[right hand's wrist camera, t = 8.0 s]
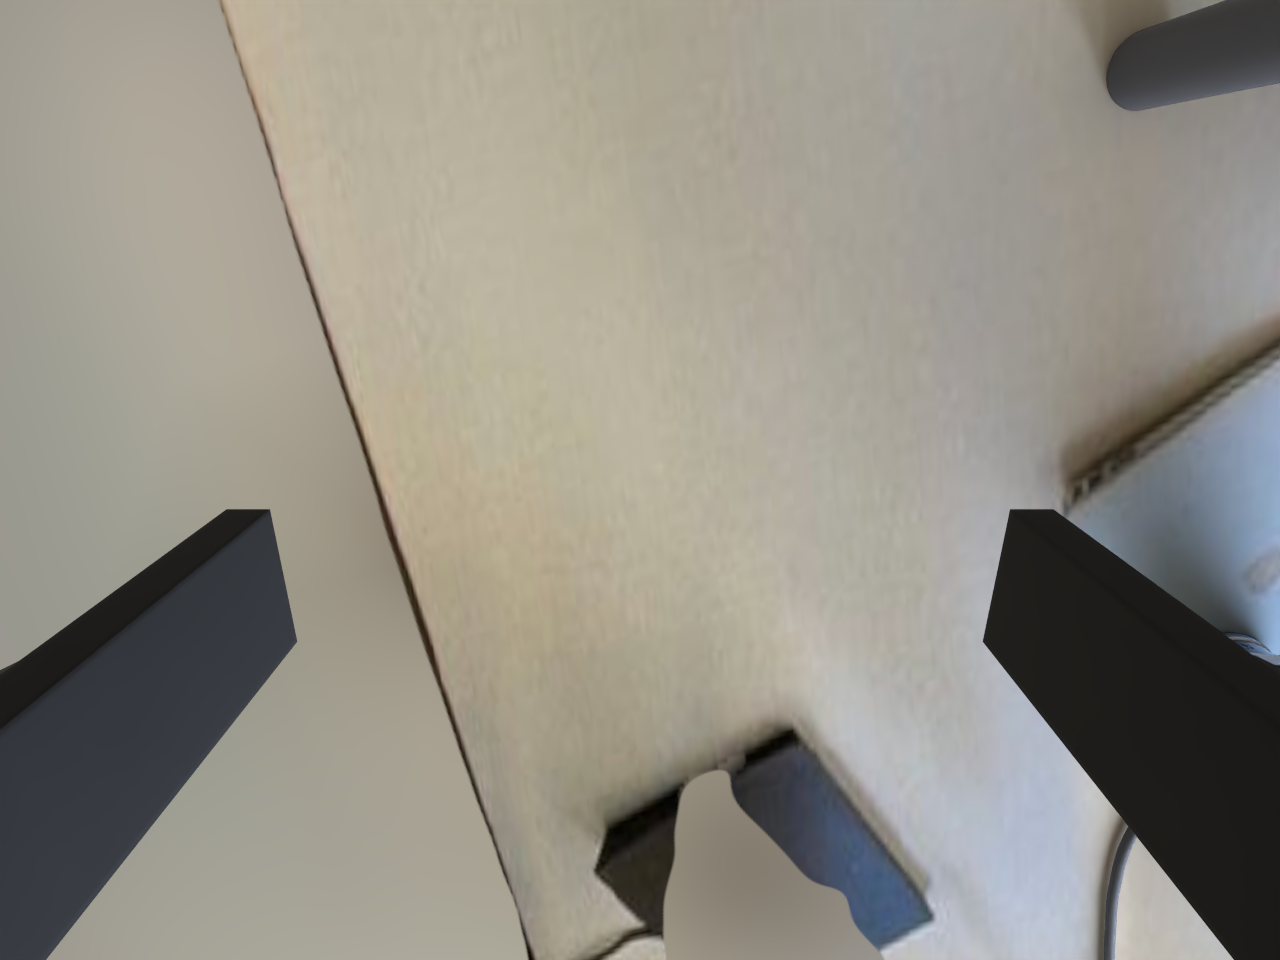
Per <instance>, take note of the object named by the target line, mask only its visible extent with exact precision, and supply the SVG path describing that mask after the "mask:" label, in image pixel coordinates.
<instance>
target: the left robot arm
mask: <svg viewBox="0 0 1280 960" xmlns="http://www.w3.org/2000/svg"><path fill="white" fill-rule="evenodd" d="M1223 634H1225V635H1226V636H1227V637H1229V638H1230V639H1231V640H1233V641H1234V642H1236V643H1237V644H1238V645H1240V646H1241V647H1242V648H1244V649H1245V650H1246V651H1248V652H1249V653H1251V654H1252V655H1256V656H1258V657H1260V658H1262V659H1264V660H1266V661H1268V662H1270V663H1272V664H1274V665H1276V666H1278V667H1280V655H1274V654H1272V653H1271V652H1270V650H1269V649H1267V648H1266V647H1265V646H1263V645H1262V644H1261V643H1259V642H1258V641H1256V640H1255V639H1253V638H1251V637H1249V636H1246V635H1242V634H1236V633H1223ZM1136 838H1137V836H1136V835H1135V834H1134V832H1133V831H1132V830H1131V829H1130V827H1129V826H1128V828H1127V830H1126V832H1125V834H1124V836H1123V838H1122V840H1121V842H1120V844H1119V847H1118V849H1117V852H1116V855H1115V859H1114V863H1113V867H1112V872H1111V877H1110V881H1109V886H1108V892H1107V900H1106V915H1105V935H1104V960H1115V936H1116V918H1117V905H1118V898H1119V892H1120V887H1121V883H1122V878H1123V873H1124V869H1125V865H1126V862H1127V859H1128V856H1129V853H1130V851H1131V848H1132V846H1133V844H1134V842H1135V840H1136Z"/></svg>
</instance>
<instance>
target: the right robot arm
mask: <svg viewBox="0 0 1280 960" xmlns="http://www.w3.org/2000/svg"><path fill="white" fill-rule="evenodd" d="M296 642H297V639H296V634H295V629H294V624H293V619H292V614H291V610H290V605H289V600H288V595H287V590H286V586H285V581H284V576H283V571H282V566H281V561H280V556H279V552H278V547H277V542H276V537H275V532H274V527H273V523H272V518H271V513H270V510H269V509H227V510H225V511H224V512H222V513H221V514H220V515H218V516H217V517H216V518H214V519H213V520H212V521H210V522H209V523H207V524H206V525H205V526H203V527H202V528H201V529H199V530H198V531H196V532H195V533H194V534H192V535H191V536H190V537H188V538H187V539H185V540H184V541H183V542H181V543H180V544H179V545H177V546H176V547H175V548H173V549H172V550H171V551H169V552H168V553H166V554H165V555H164V556H162V557H161V558H159V559H158V560H157V561H155V562H154V563H153V564H151V565H150V566H149V567H147V568H146V569H144V570H143V571H142V572H140V573H139V574H138V575H136V576H135V577H134V578H132V579H131V580H129V581H128V582H127V583H125V584H124V585H123V586H121V587H120V588H118V589H117V590H116V591H114V592H113V593H112V594H110V595H109V596H107V597H106V598H105V599H103V600H102V601H101V602H99V603H98V604H97V605H95V606H94V607H93V608H91V609H90V610H88V611H87V612H86V613H84V614H83V615H81V616H80V617H79V618H77V619H76V620H75V621H73V622H72V623H71V624H69V625H68V626H66V627H65V628H64V629H62V630H61V631H60V632H58V633H57V634H55V635H54V636H53V637H51V638H50V639H49V640H47V641H46V642H44V643H43V644H42V645H40V646H39V647H38V648H36V649H35V650H34V651H32V652H31V653H29V654H28V655H27V656H25V657H24V658H23V659H21V660H20V661H18V662H16V663H14V664H12V665H10V666H8V667H6V668H4V669H2V670H0V960H46V959H47V958H48V956H49V955H50V954H51V953H52V951H53V950H54V949H55V948H56V946H57V945H58V944H59V942H60V941H61V940H62V939H63V937H64V936H65V935H66V934H67V932H68V931H69V930H70V929H71V927H72V926H73V925H74V923H75V922H76V921H77V920H78V918H79V917H80V916H81V915H82V913H83V912H84V911H85V910H86V908H87V907H88V906H89V904H90V903H91V902H92V901H93V899H94V898H95V897H96V896H97V894H98V893H99V892H100V891H101V889H102V888H103V887H104V885H105V884H106V883H107V882H108V880H109V879H110V878H111V877H112V875H113V874H114V873H115V872H116V870H117V869H118V868H119V867H120V865H121V864H122V863H123V861H124V860H125V859H126V858H127V856H128V855H129V854H130V853H131V851H132V850H133V849H134V848H135V846H136V845H137V844H138V842H139V841H140V840H141V839H142V837H143V836H144V835H145V834H146V832H147V831H148V830H149V828H150V827H151V826H152V825H153V824H154V822H155V821H156V820H157V818H158V817H159V816H160V815H161V813H162V812H163V811H164V810H165V808H166V807H167V806H168V805H169V803H170V802H171V801H172V799H173V798H174V797H175V796H176V794H177V793H178V792H179V791H180V789H181V788H182V787H183V786H184V784H185V783H186V782H187V780H188V779H189V778H190V777H191V775H192V774H193V773H194V772H195V770H196V769H197V768H198V767H199V765H200V764H201V763H202V761H203V760H204V759H205V758H206V756H207V755H208V754H209V753H210V751H211V750H212V749H213V748H214V746H215V745H216V744H217V742H218V741H219V740H220V739H221V737H222V736H223V735H224V734H225V732H226V731H227V730H228V728H229V727H230V726H231V725H232V723H233V722H234V721H235V720H236V718H237V717H238V716H239V715H240V713H241V712H242V711H243V709H244V708H245V707H246V706H247V704H248V703H249V702H250V701H251V699H252V698H253V697H254V696H255V694H256V693H257V692H258V691H259V689H260V688H261V687H262V685H263V684H264V683H265V682H266V680H267V679H268V678H269V677H270V675H271V674H272V673H273V671H274V670H275V669H276V668H277V666H278V665H279V664H280V663H281V661H282V660H283V659H284V658H285V656H286V655H287V654H288V653H289V651H290V650H291V649H292V647H293V646H294V645H295V644H296ZM983 642H984V644H985V645H986V646H987V647H988V649H989V650H990V651H991V653H992V654H993V655H994V656H995V658H996V659H997V660H998V661H999V663H1000V664H1001V665H1002V666H1003V668H1004V669H1005V670H1006V672H1007V673H1008V674H1009V675H1010V677H1011V678H1012V679H1013V680H1014V682H1015V683H1016V684H1017V685H1018V687H1019V688H1020V689H1021V691H1022V692H1023V693H1024V694H1025V696H1026V697H1027V698H1028V699H1029V701H1030V702H1031V703H1032V704H1033V706H1034V707H1035V708H1036V710H1037V711H1038V712H1039V713H1040V715H1041V716H1042V717H1043V718H1044V720H1045V721H1046V722H1047V723H1048V725H1049V726H1050V727H1051V729H1052V730H1053V731H1054V732H1055V734H1056V735H1057V736H1058V737H1059V739H1060V740H1061V741H1062V742H1063V744H1064V745H1065V746H1066V748H1067V749H1068V750H1069V751H1070V753H1071V754H1072V755H1073V756H1074V758H1075V759H1076V760H1077V761H1078V763H1079V764H1080V765H1081V767H1082V768H1083V769H1084V770H1085V772H1086V773H1087V774H1088V775H1089V777H1090V778H1091V779H1092V780H1093V782H1094V783H1095V784H1096V786H1097V787H1098V788H1099V789H1100V791H1101V792H1102V793H1103V794H1104V796H1105V797H1106V798H1107V799H1108V801H1109V802H1110V803H1111V805H1112V806H1113V807H1114V808H1115V810H1116V811H1117V812H1118V813H1119V815H1120V816H1121V817H1122V818H1123V820H1124V821H1125V822H1126V824H1127V825H1128V826H1129V827H1130V829H1131V830H1132V831H1133V832H1134V834H1135V835H1136V836H1137V837H1138V839H1139V840H1140V841H1141V843H1142V844H1143V845H1144V846H1145V848H1146V849H1147V850H1148V851H1149V853H1150V854H1151V855H1152V856H1153V858H1154V859H1155V860H1156V861H1157V863H1158V864H1159V865H1160V867H1161V868H1162V869H1163V870H1164V872H1165V873H1166V874H1167V875H1168V877H1169V878H1170V879H1171V880H1172V882H1173V883H1174V884H1175V886H1176V887H1177V888H1178V889H1179V891H1180V892H1181V893H1182V894H1183V896H1184V897H1185V898H1186V899H1187V901H1188V902H1189V903H1190V905H1191V906H1192V907H1193V908H1194V910H1195V911H1196V912H1197V913H1198V915H1199V916H1200V917H1201V918H1202V920H1203V921H1204V922H1205V924H1206V925H1207V926H1208V927H1209V929H1210V930H1211V931H1212V932H1213V934H1214V935H1215V936H1216V937H1217V939H1218V940H1219V941H1220V943H1221V944H1222V945H1223V946H1224V948H1225V949H1226V950H1227V951H1228V953H1229V954H1230V955H1231V956H1232V958H1233V959H1234V960H1280V667H1278V666H1276V665H1274V664H1272V663H1270V662H1268V661H1266V660H1264V659H1262V658H1260V657H1258V656H1256V655H1252V654H1251V653H1249V652H1248V651H1246V650H1245V649H1244V648H1242V647H1241V646H1240V645H1238V644H1237V643H1236V642H1234V641H1233V640H1231V639H1230V638H1229V637H1227V636H1226V635H1225V634H1223V633H1222V632H1220V631H1219V630H1218V629H1216V628H1215V627H1214V626H1212V625H1211V624H1210V623H1208V622H1207V621H1205V620H1204V619H1203V618H1201V617H1200V616H1199V615H1197V614H1196V613H1194V612H1193V611H1192V610H1190V609H1189V608H1188V607H1186V606H1185V605H1183V604H1182V603H1181V602H1179V601H1178V600H1177V599H1175V598H1174V597H1173V596H1171V595H1170V594H1168V593H1167V592H1166V591H1164V590H1163V589H1162V588H1160V587H1159V586H1157V585H1156V584H1155V583H1153V582H1152V581H1151V580H1149V579H1148V578H1147V577H1145V576H1144V575H1142V574H1141V573H1140V572H1138V571H1137V570H1136V569H1134V568H1133V567H1131V566H1130V565H1129V564H1127V563H1126V562H1125V561H1123V560H1122V559H1121V558H1119V557H1118V556H1116V555H1115V554H1114V553H1112V552H1111V551H1110V550H1108V549H1107V548H1105V547H1104V546H1103V545H1101V544H1100V543H1099V542H1097V541H1096V540H1095V539H1093V538H1092V537H1090V536H1089V535H1088V534H1086V533H1085V532H1084V531H1082V530H1081V529H1079V528H1078V527H1077V526H1075V525H1074V524H1073V523H1071V522H1070V521H1069V520H1067V519H1066V518H1064V517H1063V516H1062V515H1060V514H1059V513H1058V512H1056V511H1055V510H1053V509H1010V513H1009V518H1008V523H1007V527H1006V532H1005V537H1004V542H1003V547H1002V552H1001V556H1000V561H999V566H998V571H997V576H996V581H995V585H994V590H993V595H992V600H991V605H990V610H989V614H988V619H987V624H986V629H985V634H984V639H983Z"/></svg>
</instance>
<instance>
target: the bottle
mask: <svg viewBox="0 0 1280 960" xmlns="http://www.w3.org/2000/svg"><path fill="white" fill-rule="evenodd" d="M1277 83H1280V0H1225V1H1223V2H1220V3H1217V4H1214V5H1211V6H1208V7H1206V8H1203V9H1200V10H1197V11H1194V12H1191V13H1189V14H1186V15H1183V16H1180V17H1177V18H1174V19H1172V20H1169V21H1166V22H1163V23H1160V24H1157V25H1155V26H1152V27H1149V28H1146V29H1143V30H1141V31H1138V32H1136V33H1134V34H1133V35H1131V36H1130V37H1129V38H1127V39H1126V40H1125V41H1124V42H1123V43H1122V44H1121V45H1120V46H1119V48H1118V49H1117V50H1116V52H1115V54H1114V55H1113V57H1112V59H1111V62H1110V64H1109V67H1108V72H1107V86H1108V91H1109V94H1110V96H1111V97H1112V99H1113V100H1114V101H1115V103H1116V104H1118V105H1119V106H1120V107H1122V108H1124V109H1127V110H1144V109H1149V108H1154V107H1159V106H1164V105H1169V104H1174V103H1180V102H1185V101H1190V100H1195V99H1200V98H1205V97H1210V96H1216V95H1221V94H1226V93H1231V92H1236V91H1241V90H1246V89H1252V88H1257V87H1262V86H1267V85H1272V84H1277Z"/></svg>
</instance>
